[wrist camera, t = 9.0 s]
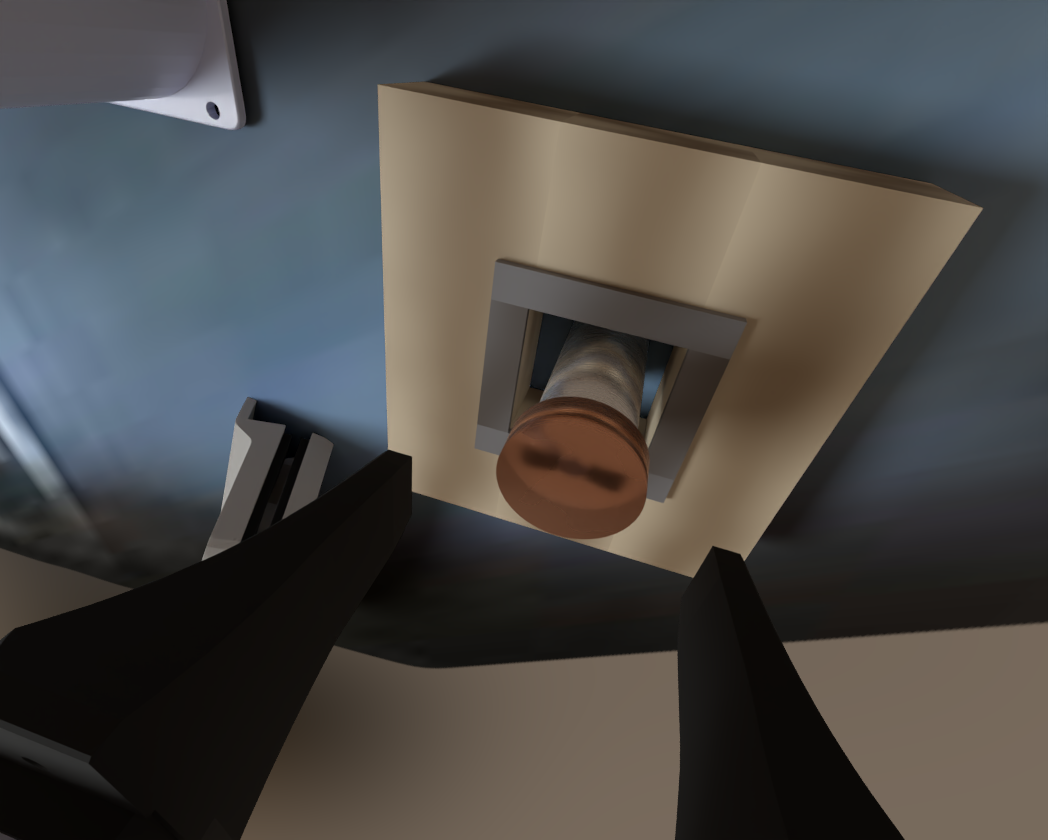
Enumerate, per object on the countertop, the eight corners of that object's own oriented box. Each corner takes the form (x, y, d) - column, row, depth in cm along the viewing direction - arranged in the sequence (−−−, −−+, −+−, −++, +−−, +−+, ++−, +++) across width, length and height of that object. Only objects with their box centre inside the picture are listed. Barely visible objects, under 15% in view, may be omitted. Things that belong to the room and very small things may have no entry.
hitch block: (417, 444, 25) (386, 488, 22) (424, 81, 15) (371, 84, 13) (721, 533, 23) (726, 593, 20) (932, 183, 14) (989, 211, 11)
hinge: (248, 391, 26) (155, 569, 18) (341, 418, 27) (289, 591, 20) (220, 549, 36) (153, 703, 29) (289, 562, 37) (242, 710, 30)
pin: (551, 369, 20) (488, 513, 14) (570, 281, 18) (506, 405, 11) (642, 395, 20) (621, 555, 13) (674, 307, 17) (669, 451, 11)
